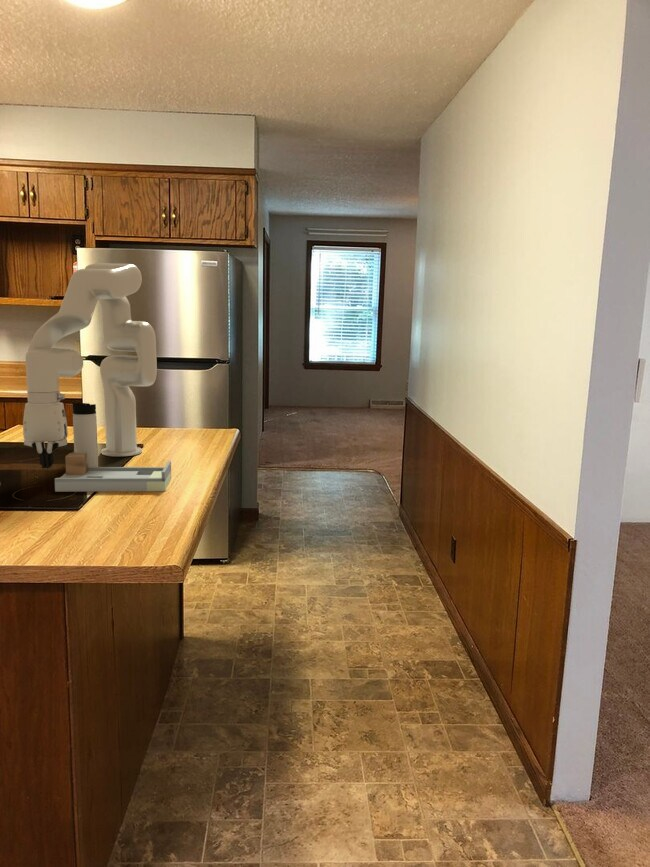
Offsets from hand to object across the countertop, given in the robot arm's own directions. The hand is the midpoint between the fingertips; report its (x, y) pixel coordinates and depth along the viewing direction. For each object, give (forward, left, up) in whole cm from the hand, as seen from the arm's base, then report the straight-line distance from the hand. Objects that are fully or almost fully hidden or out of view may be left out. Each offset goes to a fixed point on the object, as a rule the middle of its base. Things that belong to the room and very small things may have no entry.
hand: (47, 467), depth 168 cm
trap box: (+3, +18, -4) cm, 19 cm away
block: (0, +8, -2) cm, 8 cm away
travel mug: (-13, +7, -4) cm, 15 cm away
